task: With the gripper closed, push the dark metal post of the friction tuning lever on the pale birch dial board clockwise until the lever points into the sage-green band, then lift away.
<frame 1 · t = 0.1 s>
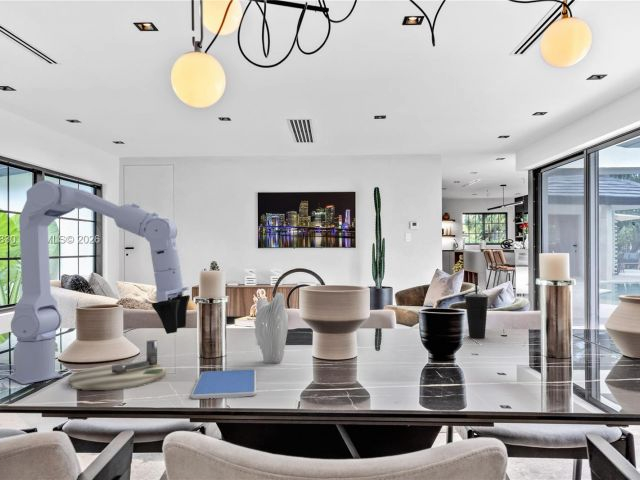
hand: (176, 330, 105), 10 cm above the table, tool pointing down, fingers open, 7 cm apart
white ribbed vase: (271, 363, 118), on the table
tuning lever: (135, 355, 107), point 4 cm above the table, hinge at 0.0°
drinking cup: (477, 337, 152), on the table
tablet computer: (226, 387, 99), on the table
dial board: (118, 377, 104), on the table
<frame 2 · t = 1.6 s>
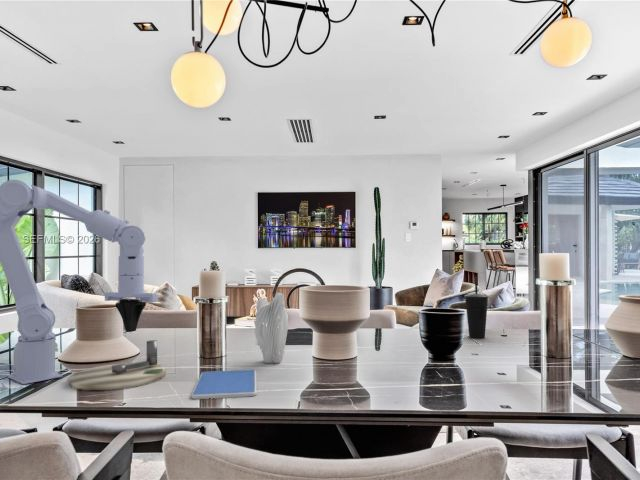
hand: (130, 331, 112), 9 cm above the table, tool pointing down, fingers closed
nothing on the table moved.
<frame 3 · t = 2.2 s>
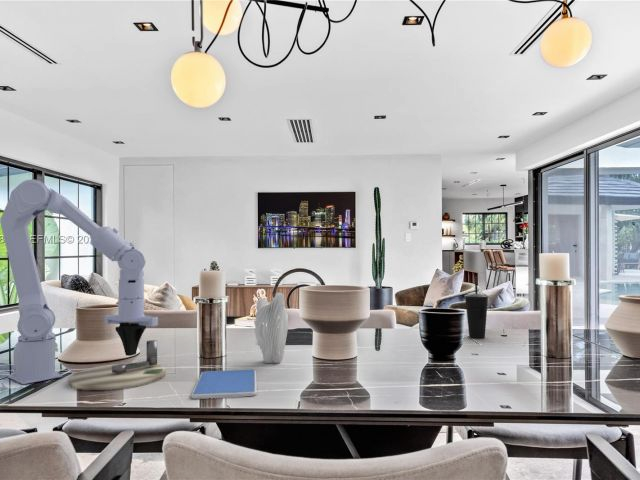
hand: (130, 354, 112), 3 cm above the table, tool pointing down, fingers closed
nothing on the table moved.
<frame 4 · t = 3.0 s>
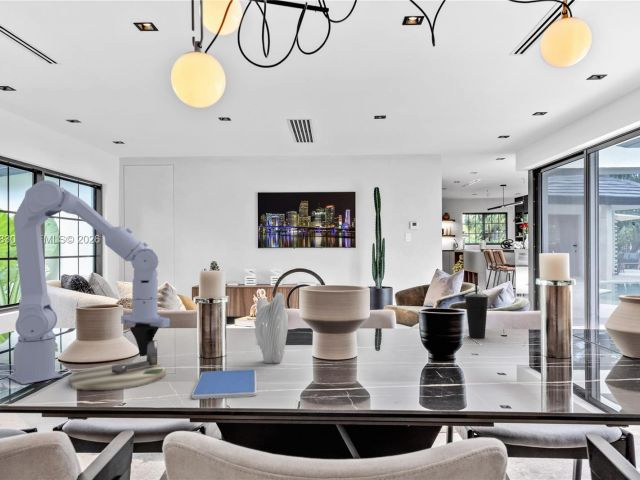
hand: (144, 355, 111), 3 cm above the table, tool pointing down, fingers closed
tuning lever: (135, 355, 107), point 4 cm above the table, hinge at -0.4°, touching gripper
everything else where it was.
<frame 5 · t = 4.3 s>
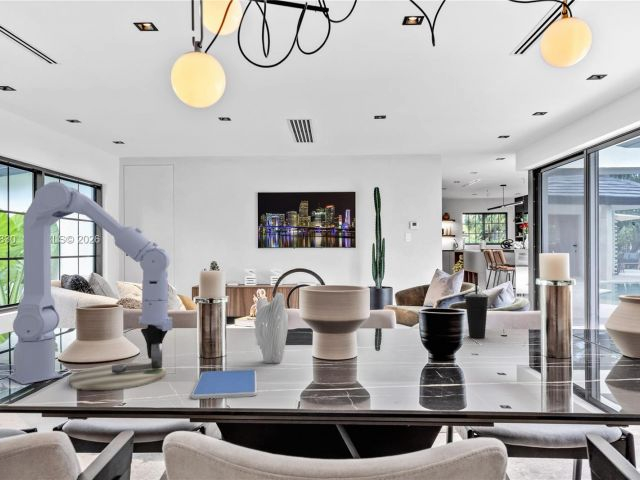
hand: (154, 358, 109), 3 cm above the table, tool pointing down, fingers closed, pressing on tuning lever
tuning lever: (137, 357, 106), point 4 cm above the table, hinge at -29.4°, touching gripper
everything else where it was.
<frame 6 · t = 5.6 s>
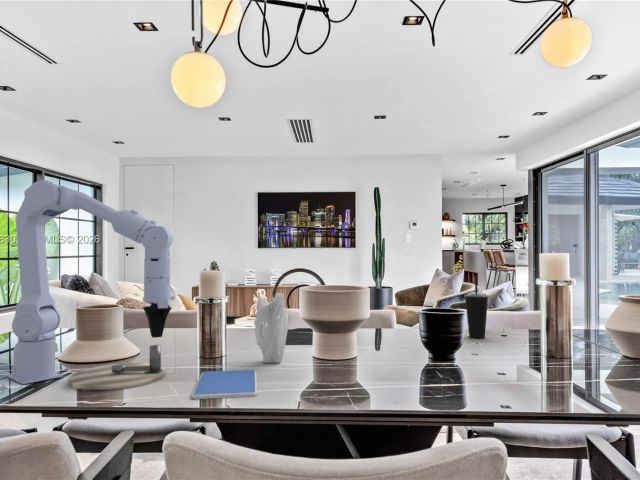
hand: (156, 336, 107), 9 cm above the table, tool pointing down, fingers closed
tuning lever: (136, 358, 105), point 4 cm above the table, hinge at -47.1°
everything else where it was.
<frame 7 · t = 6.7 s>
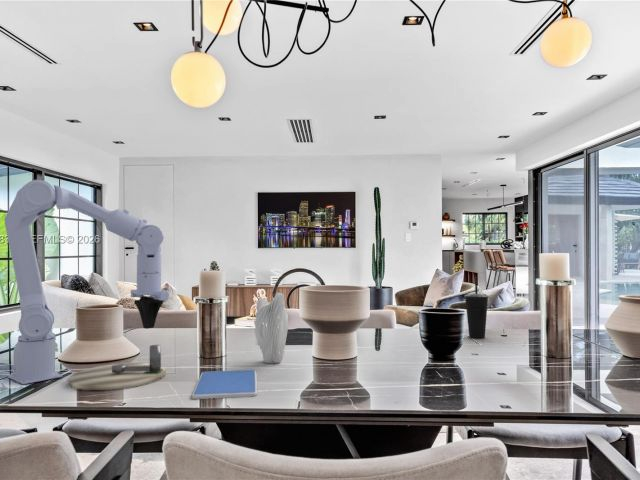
hand: (148, 327, 115), 9 cm above the table, tool pointing down, fingers closed
nothing on the table moved.
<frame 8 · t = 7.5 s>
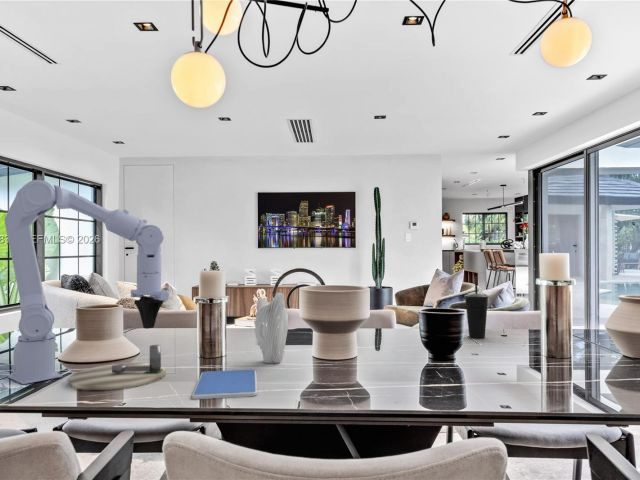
hand: (148, 327, 115), 9 cm above the table, tool pointing down, fingers closed
nothing on the table moved.
at the end: tuning lever at -47° (first picture: +0°); the gripper is holding nothing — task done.
